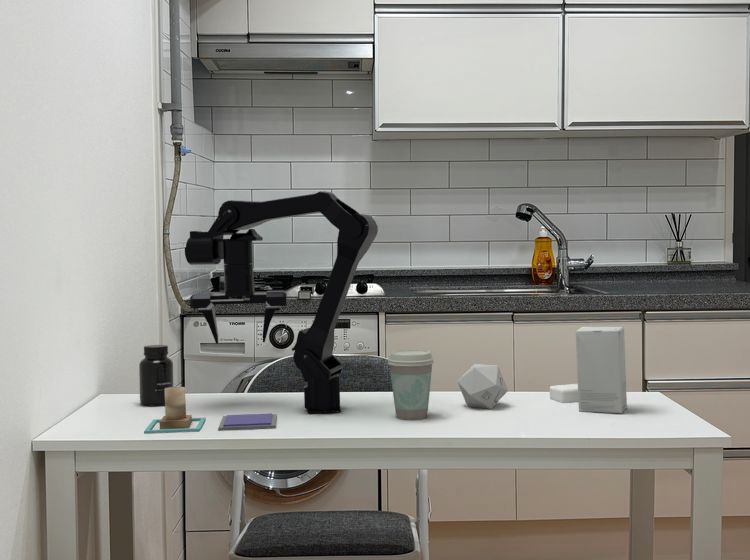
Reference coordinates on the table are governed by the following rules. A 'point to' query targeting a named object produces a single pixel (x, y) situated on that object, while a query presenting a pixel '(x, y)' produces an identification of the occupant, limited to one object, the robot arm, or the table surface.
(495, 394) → the die
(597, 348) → the skincare box
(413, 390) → the coffee cup
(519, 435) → the table surface
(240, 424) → the ink pad
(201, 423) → the teal flat square frame
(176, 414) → the stamp
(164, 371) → the supplement bottle
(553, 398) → the soap
